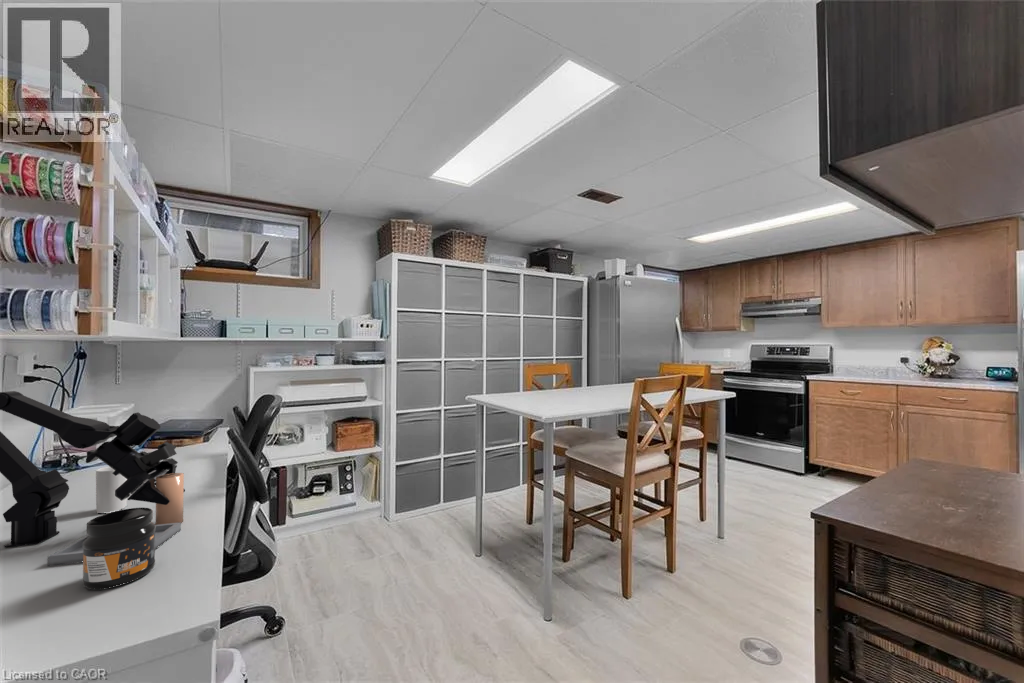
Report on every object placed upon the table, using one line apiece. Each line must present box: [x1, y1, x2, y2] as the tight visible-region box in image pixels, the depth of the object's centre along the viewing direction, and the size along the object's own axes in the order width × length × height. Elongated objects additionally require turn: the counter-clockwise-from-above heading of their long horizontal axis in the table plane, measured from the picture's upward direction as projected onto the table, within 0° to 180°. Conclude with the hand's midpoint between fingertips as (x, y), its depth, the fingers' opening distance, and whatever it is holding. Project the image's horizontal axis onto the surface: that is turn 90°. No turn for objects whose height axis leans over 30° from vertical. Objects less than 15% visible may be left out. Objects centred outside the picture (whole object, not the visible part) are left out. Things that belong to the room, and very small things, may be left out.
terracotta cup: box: [154, 472, 185, 525], centre depth 108 cm, size 6×6×12 cm
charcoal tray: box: [47, 522, 182, 567], centre depth 95 cm, size 18×13×2 cm
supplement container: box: [81, 507, 156, 590], centre depth 82 cm, size 10×10×12 cm
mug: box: [95, 465, 132, 514], centre depth 120 cm, size 10×7×12 cm, turn 145°
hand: (176, 497), depth 108 cm, fingers open, 8 cm apart
